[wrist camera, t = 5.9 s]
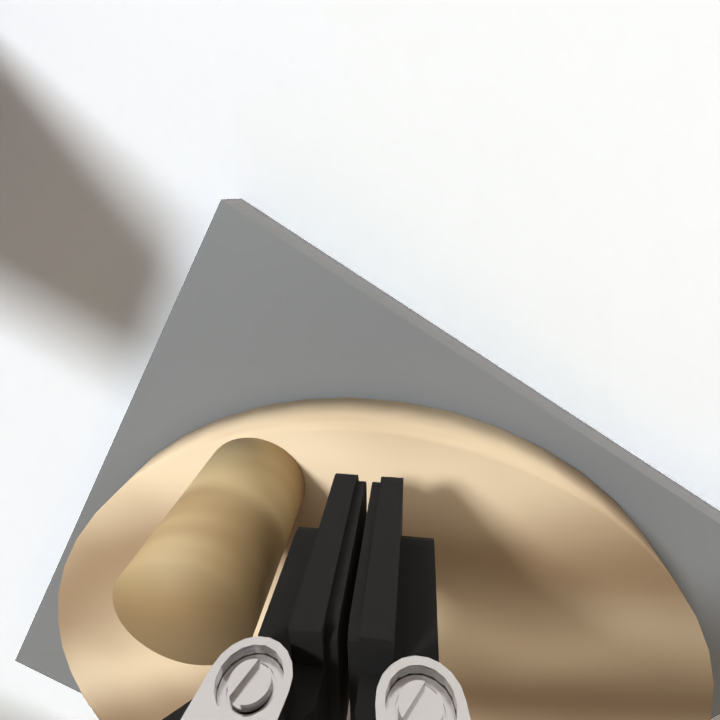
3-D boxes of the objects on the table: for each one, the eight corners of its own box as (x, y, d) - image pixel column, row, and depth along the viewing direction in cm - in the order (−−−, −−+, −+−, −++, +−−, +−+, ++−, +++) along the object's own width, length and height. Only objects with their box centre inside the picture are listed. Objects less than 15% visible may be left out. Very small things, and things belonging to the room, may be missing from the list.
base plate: (433, 831, 26) (434, 871, 24) (39, 632, 23) (12, 663, 21) (839, 589, 16) (884, 631, 14) (241, 198, 13) (219, 199, 12)
